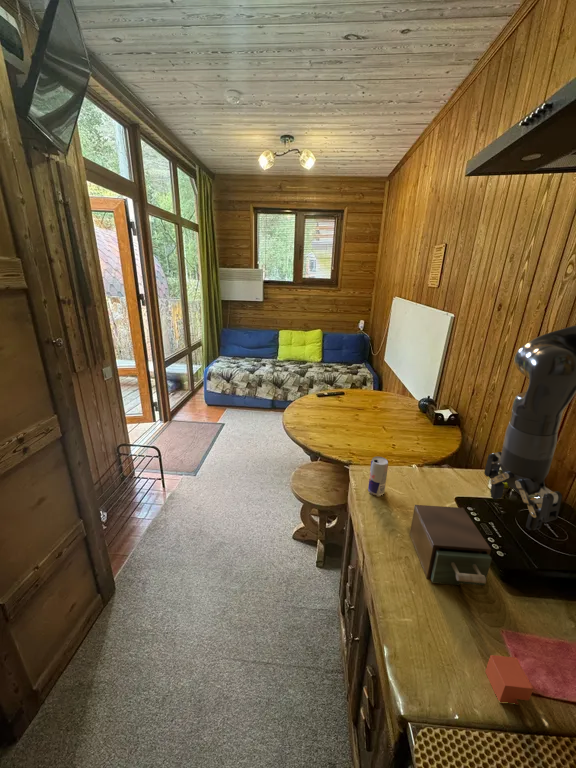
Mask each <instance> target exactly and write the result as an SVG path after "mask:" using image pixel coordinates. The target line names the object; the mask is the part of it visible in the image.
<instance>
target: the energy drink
mask: <svg viewBox="0 0 576 768" xmlns="http://www.w3.org/2000/svg"><path fill="white" fill-rule="evenodd" d="M388 469H389V461H388V459H387V458H385V457H383V456H374V457H372V458H371V461H370V468H369V476H368V477H369V478H368V486H367V491H368V492H370V493H371V494H370V493H369V494H370V495H372V494H373V495H377V496H376V497H382V496H384V495H385V492H386V484H387V477H388ZM383 494H384V495H383ZM373 495H372V496H373ZM381 495H382V496H381Z"/></svg>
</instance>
